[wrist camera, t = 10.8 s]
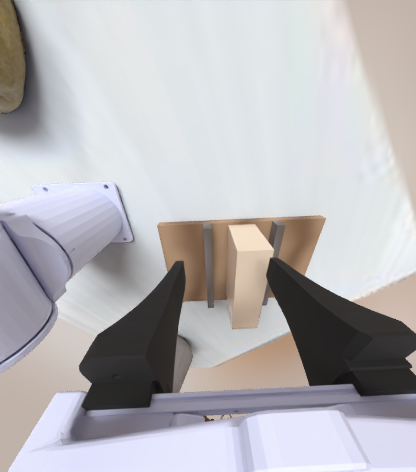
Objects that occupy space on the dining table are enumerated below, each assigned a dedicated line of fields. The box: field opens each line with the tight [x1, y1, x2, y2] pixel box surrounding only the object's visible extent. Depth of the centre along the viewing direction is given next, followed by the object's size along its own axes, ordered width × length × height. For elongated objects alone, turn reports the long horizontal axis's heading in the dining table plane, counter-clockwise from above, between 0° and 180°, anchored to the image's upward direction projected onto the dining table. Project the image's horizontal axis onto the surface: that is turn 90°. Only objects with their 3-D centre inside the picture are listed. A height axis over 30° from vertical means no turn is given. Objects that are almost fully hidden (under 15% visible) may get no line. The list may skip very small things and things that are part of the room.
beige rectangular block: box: [226, 224, 274, 329], centre depth 20 cm, size 4×13×6 cm, turn 2°
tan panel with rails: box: [157, 216, 326, 308], centre depth 22 cm, size 22×15×2 cm
